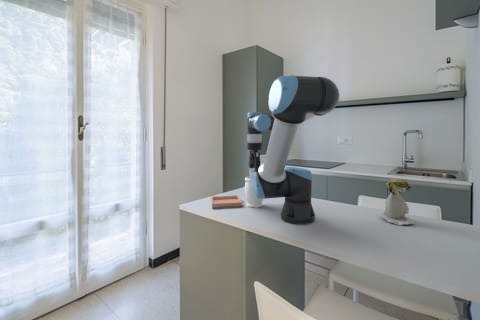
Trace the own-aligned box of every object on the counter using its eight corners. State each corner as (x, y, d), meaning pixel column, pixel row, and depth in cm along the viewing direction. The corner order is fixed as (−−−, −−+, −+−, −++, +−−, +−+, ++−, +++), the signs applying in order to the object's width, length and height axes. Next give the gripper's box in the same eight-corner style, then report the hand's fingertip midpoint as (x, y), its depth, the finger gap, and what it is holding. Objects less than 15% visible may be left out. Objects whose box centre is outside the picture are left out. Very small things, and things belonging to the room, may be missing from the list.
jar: (242, 207, 130) (242, 179, 128) (247, 202, 140) (247, 175, 138) (262, 209, 127) (262, 180, 125) (266, 203, 136) (266, 176, 135)
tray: (241, 206, 131) (241, 202, 131) (212, 208, 129) (212, 203, 128) (238, 199, 145) (238, 195, 145) (211, 200, 143) (211, 196, 143)
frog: (384, 224, 105) (386, 181, 103) (377, 214, 117) (379, 176, 115) (417, 227, 101) (420, 183, 99) (406, 216, 113) (409, 177, 111)
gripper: (267, 143, 118) (267, 187, 120) (256, 141, 142) (256, 177, 145) (252, 143, 116) (252, 187, 119) (243, 141, 141) (243, 177, 144)
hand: (254, 182), depth 132 cm, fingers open, 13 cm apart
